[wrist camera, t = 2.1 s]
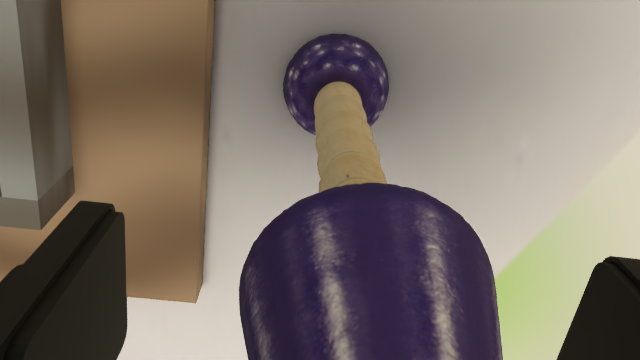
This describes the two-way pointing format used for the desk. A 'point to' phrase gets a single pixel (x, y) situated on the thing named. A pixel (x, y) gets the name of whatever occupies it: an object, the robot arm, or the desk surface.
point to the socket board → (108, 129)
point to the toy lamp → (362, 240)
